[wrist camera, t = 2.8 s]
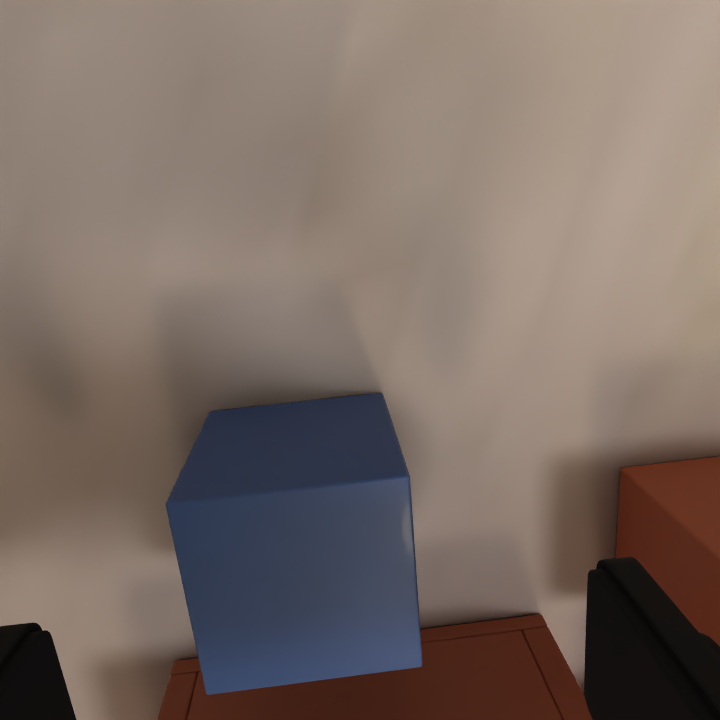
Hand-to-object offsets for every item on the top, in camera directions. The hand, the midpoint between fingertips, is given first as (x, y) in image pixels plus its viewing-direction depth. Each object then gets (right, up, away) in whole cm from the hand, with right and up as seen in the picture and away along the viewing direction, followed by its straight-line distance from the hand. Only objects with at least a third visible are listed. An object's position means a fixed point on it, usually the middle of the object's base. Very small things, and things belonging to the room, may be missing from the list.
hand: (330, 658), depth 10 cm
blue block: (-1, +2, +5) cm, 6 cm away
